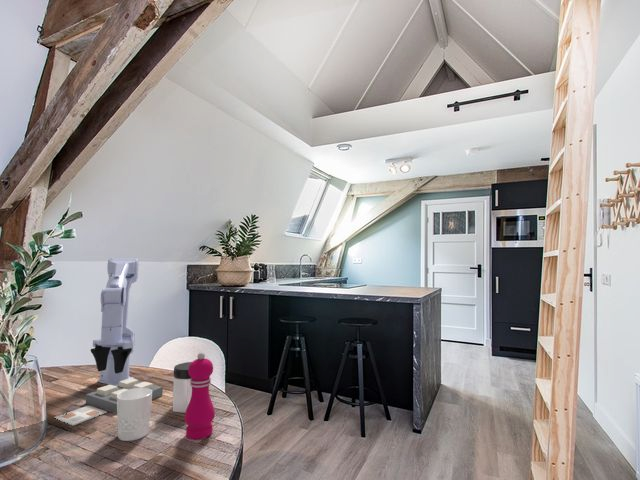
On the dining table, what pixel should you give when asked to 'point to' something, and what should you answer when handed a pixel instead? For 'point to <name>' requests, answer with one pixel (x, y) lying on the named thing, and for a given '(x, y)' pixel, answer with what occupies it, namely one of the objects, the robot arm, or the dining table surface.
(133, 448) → the dining table surface
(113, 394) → the button
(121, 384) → the button
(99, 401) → the button board
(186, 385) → the jar
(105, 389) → the button
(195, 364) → the pepper mill
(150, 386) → the button
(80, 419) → the card
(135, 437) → the white cup
